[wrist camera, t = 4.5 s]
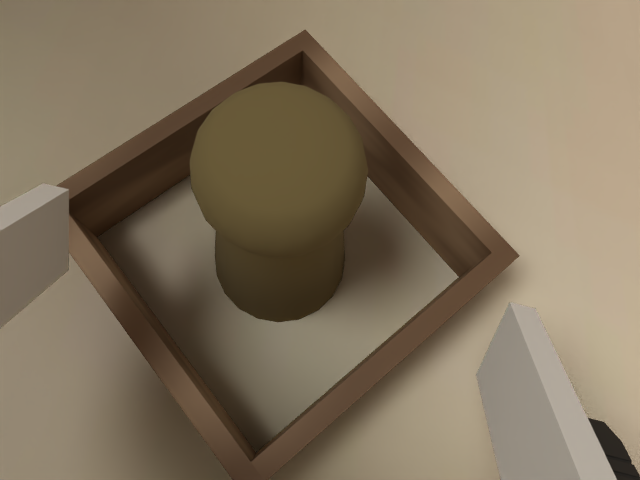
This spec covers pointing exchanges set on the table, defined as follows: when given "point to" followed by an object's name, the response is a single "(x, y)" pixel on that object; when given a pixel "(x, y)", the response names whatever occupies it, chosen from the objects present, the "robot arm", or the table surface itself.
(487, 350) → the robot arm
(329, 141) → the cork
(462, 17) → the table surface
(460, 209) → the walnut box
